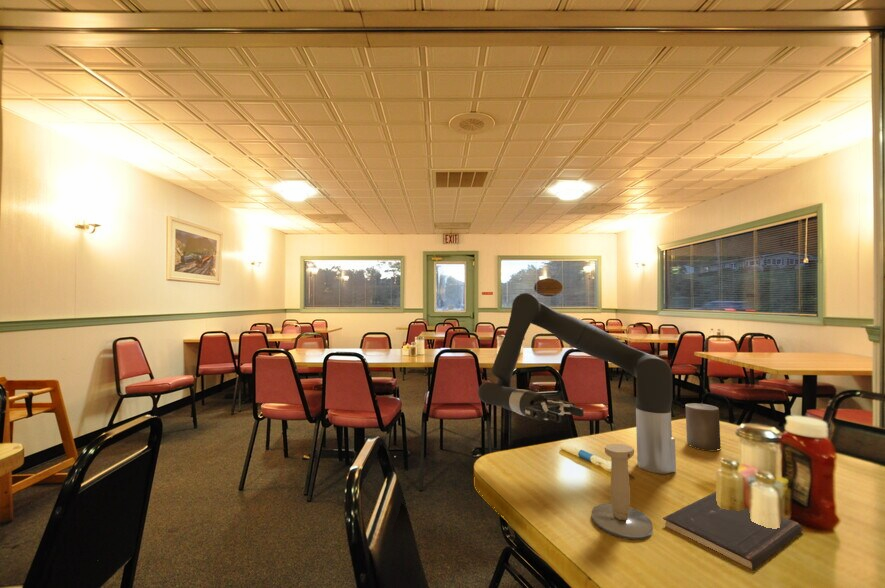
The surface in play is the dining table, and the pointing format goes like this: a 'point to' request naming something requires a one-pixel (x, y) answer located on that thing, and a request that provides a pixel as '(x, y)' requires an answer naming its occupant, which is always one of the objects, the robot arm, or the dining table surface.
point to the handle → (620, 479)
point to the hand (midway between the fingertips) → (571, 415)
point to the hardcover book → (731, 531)
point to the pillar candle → (703, 426)
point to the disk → (622, 523)
